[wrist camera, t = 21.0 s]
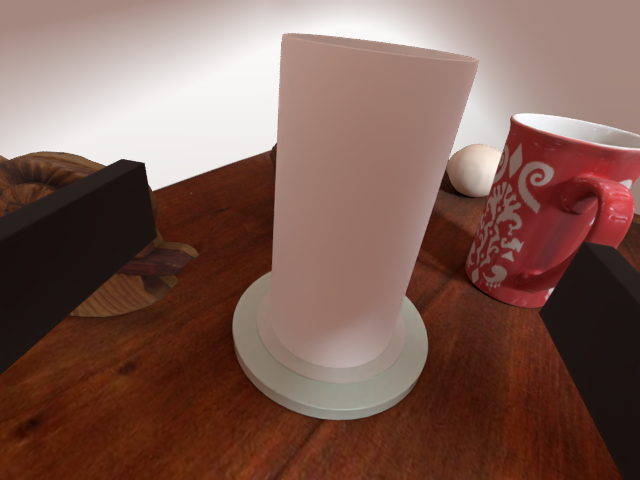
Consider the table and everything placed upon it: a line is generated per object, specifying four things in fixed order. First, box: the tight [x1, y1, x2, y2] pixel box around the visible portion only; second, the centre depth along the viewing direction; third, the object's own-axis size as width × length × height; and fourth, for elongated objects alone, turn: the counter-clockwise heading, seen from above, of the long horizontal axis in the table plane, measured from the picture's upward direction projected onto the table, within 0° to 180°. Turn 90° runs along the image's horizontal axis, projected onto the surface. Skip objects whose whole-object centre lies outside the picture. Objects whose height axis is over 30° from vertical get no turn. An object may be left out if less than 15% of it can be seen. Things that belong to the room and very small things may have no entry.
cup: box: [270, 33, 479, 368], centre depth 19 cm, size 8×8×16 cm
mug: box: [465, 113, 640, 308], centre depth 26 cm, size 13×9×14 cm
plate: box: [232, 271, 428, 420], centre depth 24 cm, size 13×13×1 cm
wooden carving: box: [0, 152, 199, 317], centre depth 21 cm, size 16×5×10 cm, turn 89°
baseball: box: [447, 144, 502, 197], centre depth 45 cm, size 7×7×7 cm
